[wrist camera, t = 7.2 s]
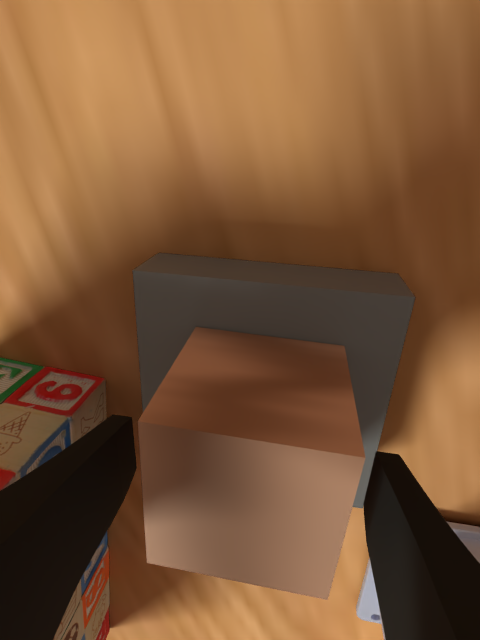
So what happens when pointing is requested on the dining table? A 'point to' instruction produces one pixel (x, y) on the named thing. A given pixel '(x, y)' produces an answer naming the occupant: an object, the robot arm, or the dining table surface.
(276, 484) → the terracotta cube
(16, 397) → the stack of blocks
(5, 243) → the dining table surface
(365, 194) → the dining table surface
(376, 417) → the charcoal slab
